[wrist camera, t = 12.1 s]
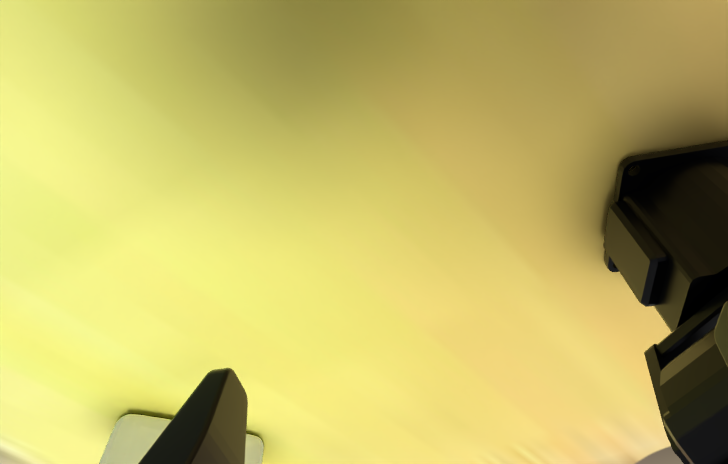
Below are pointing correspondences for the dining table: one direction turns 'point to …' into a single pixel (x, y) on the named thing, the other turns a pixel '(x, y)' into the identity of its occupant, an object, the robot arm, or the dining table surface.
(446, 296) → the dining table surface
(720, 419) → the robot arm
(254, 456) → the photo printer
